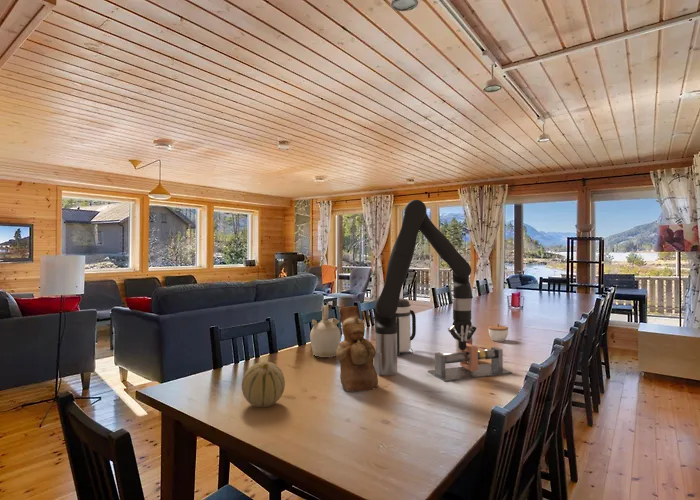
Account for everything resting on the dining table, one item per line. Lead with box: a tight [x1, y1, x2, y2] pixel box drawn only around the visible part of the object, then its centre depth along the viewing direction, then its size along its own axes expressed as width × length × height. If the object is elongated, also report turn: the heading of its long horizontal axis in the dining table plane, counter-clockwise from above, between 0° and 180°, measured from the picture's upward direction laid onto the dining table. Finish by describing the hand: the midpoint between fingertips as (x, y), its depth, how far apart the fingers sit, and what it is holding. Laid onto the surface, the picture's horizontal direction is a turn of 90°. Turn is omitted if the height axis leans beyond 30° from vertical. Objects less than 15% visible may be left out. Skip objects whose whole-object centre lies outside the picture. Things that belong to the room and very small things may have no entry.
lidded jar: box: [488, 323, 509, 343], centre depth 237 cm, size 11×11×9 cm
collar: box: [459, 343, 479, 371], centre depth 176 cm, size 3×8×10 cm, turn 18°
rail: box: [427, 346, 513, 383], centre depth 176 cm, size 32×14×9 cm, turn 108°
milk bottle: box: [455, 330, 473, 353], centre depth 197 cm, size 8×8×20 cm
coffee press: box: [396, 297, 417, 357], centre depth 212 cm, size 17×16×30 cm
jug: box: [309, 304, 341, 358], centre depth 208 cm, size 15×16×25 cm
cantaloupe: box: [241, 361, 286, 408], centre depth 142 cm, size 15×15×15 cm
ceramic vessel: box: [335, 305, 379, 392], centre depth 164 cm, size 16×22×30 cm
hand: (462, 349), depth 175 cm, fingers closed
